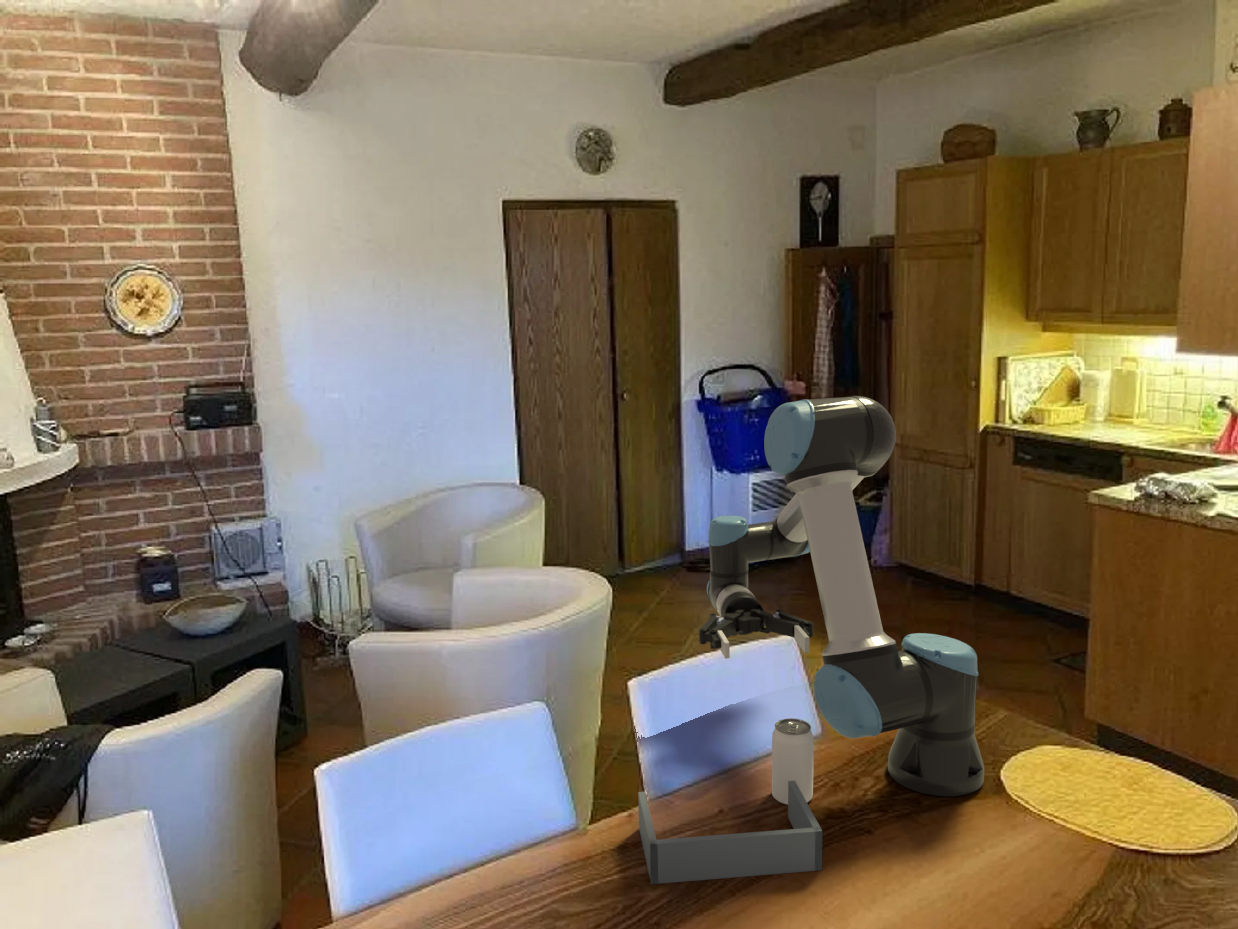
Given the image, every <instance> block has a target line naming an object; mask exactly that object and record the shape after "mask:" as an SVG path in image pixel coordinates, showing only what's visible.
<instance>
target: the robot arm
mask: <svg viewBox="0 0 1238 929" xmlns="http://www.w3.org/2000/svg"><path fill="white" fill-rule="evenodd" d="M896 439H897V430H896V426H895V422H894V420H893V417H892V416H891V414H890V413H889V411H888V410H887V409H886V407H884V406H883V405H882V404H880V403H879V402H878V401H876V400H874V399H872V398H870V397H866V396H861V395H851V396H845V397H844V396H843V397H827V398H813V399H811V398H810V399H807V398H806V399H805V398H804V399H800V400H795V401H791V402H785V403H783V404H781V405H779V406H778V407H776V408H775V409H774V410H773V412H772V413H771V414H770V417H769V418H768V421H767V425H766V428H765V431H764V438H763V440H764V441H763V442H764V444H763V445H764V449H763V450H764V455H765V460H766V462H767V464H768V466H769V467H770V469H771V470H772V471H773V473H775V474H778V475H780V476H784V479H785V484H786V488H787V489H789V490H790V491H791V492H793V493H795V495H793V497H791V499H790V500H789V502H788V503H787V504H786V506H784V508H783V509H782V510H781V512H780V513H779V514H777V516H776V518H774V520H772V521H765V522H757V523H750V524H748V519H746V518H745V517H744V516H740V515H720V516H716V517H714V518H712V520H710V523H709V529H708V547H709V565H710V568H709V571H710V572H709V580H708V582H707V584H706V593H707V597H708V600H709V602H710V604H711V606H712V607H713V608H714V609H715V610H716V612H717V614H718V615H717V614H716V613H710V614H709V618H708V619H707V620H706V621H705V622H704V623H703V625H702V626H701V627H700V628H699V630H698V632H699V633H698V635H699V636H698V640H699V641H698V642H699V644H700V645H706V644H707V643H709V644H710V645H709V646H710V647H709V648H710V649H711V650H716V649H718V650H720V652H721V654H722V656H723V657H724V659H730V656H731V655H730V641H729V640H728V639H729V638H730V637H731V636H732V637H733V636H734V637H735V636H738V635H739V636H747V635H751V634H753V633H758V632H759V633H763V634H766V635H767V634H768V635H769V634H771V633H775V634H779V635H783V636H786V637H791V638H794V642H795V643H796V644H797V645H798V646H799V647H800V649H801V651H803V652H804V653H805V654H808V653H810V638H812V637H814V622H813V621H810V620H807V619H804V618H802V617H798V616H796V615H793V614H789V613H787V612H786V611H784V610H783V609H776V611H775V613H769V612H767V611H765V610H764V608H763V606H762V604H761V603H760V601H759V600H758V599H757V597H756V596H755V595H754V594H753V592H751V590H750V589H749V563H755V562H762V561H770V560H776V559H783V558H794V557H795V558H796V557H799V556H801V555H805V554H809V553H810V556H811V557H810V558H811V562H812V566H813V571H814V576H815V580H816V585H817V586H816V587H817V589H818V594H819V600H820V603H821V604H820V605H821V609H822V613H823V618H824V624H825V628H826V633H827V638H828V643H827V645H826V647H825V649H824V650H823V651H822V653H821V656H822V661H823V665H822V666H821V667H820V668H819V669H818V670H816V672H815V675H814V681H813V692H814V698H815V701H816V703H817V707H818V709H819V711H820V713H821V715H822V716H823V718H824V719H825V721H826V722H827V723H828V724H829V725H830V727H831V728H832V729H833V730H834V731H835V732H836V733H838V734H839V735H841V736H843V737H844V738H848V739H860V738H865V737H866V738H867V737H877V736H878V735H880V734H884V733H886V732H891V731H895V730H897V731H896V735H895V736H894V739H893V742H892V745H891V747H890V749H889V752H888V756H887V771H888V773H889V775H890V777H891V778H892V779H893V780H894V781H895V782H897V783H898V784H899V785H901V786H902V787H905V788H907V789H908V790H912V791H914V792H917V793H920V794H921V793H922V794H923V795H931V796H936V797H958V796H959V797H961V796H964V795H969V794H972V793H974V792H976V791H978V790H979V789H981V787H982V786H983V785H984V782H985V781H984V780H985V764H984V762H983V758H982V755H981V751H980V748H979V744H978V742H977V739H976V735H975V734H976V733H975V730H976V726H975V725H976V724H975V723H976V710H977V693H978V692H977V690H978V678H979V677H978V676H979V671H978V655H977V653H976V651H975V650H974V648H973V647H971V646H970V645H969V644H968V643H965V642H963V641H961V640H959V639H957V638H952V637H949V636H946V635H940V634H936V633H925V632H923V633H921V632H917V633H915V632H914V633H910V634H907V635H905V636H904V637H903V639H902V642H901V649H902V650H898V647H897V643H896V640H895V639H893V638H892V637H890V636H888V635H887V634H886V632H885V631H884V629H883V625H882V620H881V616H880V610H879V607H878V601H877V597H876V592H875V588H874V584H873V579H872V574H871V570H870V564H869V561H868V556H867V552H866V548H865V543H864V538H863V533H862V529H861V524H860V520H859V516H858V515H859V514H858V510H857V507H856V502H855V498H854V494H853V492H854V491H853V490H854V489H855V488H856V487H857V486H858V485H859V484H860V483H861V481H862V480H864V478H867V477H872V476H874V475H875V474H876V473H878V472H879V471H880V469H881V468H883V466H884V465H885V463H887V461H888V460H889V459H890V457H891V455H892V453H893V451H894V449H895V445H896V441H897V440H896Z"/></svg>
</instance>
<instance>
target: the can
mask: <svg viewBox="0 0 1238 929" xmlns="http://www.w3.org/2000/svg"><path fill="white" fill-rule="evenodd" d="M814 740H815V738H814V734H813V731H812V725H811V724H810V723H809V722H807V721H805V720H803V719H799V718H792V717H791V718H783V719H779V720H778V721H776V722H775V723H774V729H773V731H772V733H771V795H772V797H773V799H775V801H776V802H778V803H780V804H782V805H785V806H788V781H795V782H796V784H797V786H798V787H799V789H800V791H801V793H802V795H803V797H804V798H805V800H806V802H807V804H808V803H809V802H810V801H811V800H812V799H813V795H814V790H813V789H814V750H815V749H814V743H815V742H814Z"/></svg>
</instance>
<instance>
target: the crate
mask: <svg viewBox="0 0 1238 929" xmlns="http://www.w3.org/2000/svg"><path fill="white" fill-rule="evenodd" d="M637 795H638V796H637V797H638V798H637V799H638V801H637V803H638V830H639V835H640V838H641V845H642V848H643V852H644V858H645V862H646V866H647V871H648V877H649V882H650V885H657V884H658V885H659V884H668V883H671V884H672V883H680V882H693V881H694V882H695V881H705V880H707V881H708V880H709V881H710V880H718V879H730V878H731V879H732V878H742V877H743V878H744V877H755V876H767V875H781V874H792V873H804V872H816V871H823V867H822V866H823V830H822V827H821V826H820V824H819V822H818V820H817V819H816V817H815V815H814V813H813V811H812V810H811V807H810V806H809V804H808V803H807V802H806V800H805V798H804V797H803V795H802V793H801V791H800V789H799V787H798V786H797V784H796V782H795V781H788V805H787V818H788V820H789V822H790V824H791V827H792V828H793V829H792V828H791V829H790V828H789V829H778V830H766V831H763V830H762V831H753V832H752V831H751V832H740V833H737V832H736V833H727V834H726V833H725V834H715V835H712V834H711V835H701V836H687V837H686V836H685V837H676V838H675V837H674V838H673V837H672V838H662V839H657V837H656V836H657V835H656V832H655V829H654V828H655V827H654V823H653V819H652V815H651V812H650V811H651V810H650V807H649V803H648V799H647V795H646V791H638V793H637Z"/></svg>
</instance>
